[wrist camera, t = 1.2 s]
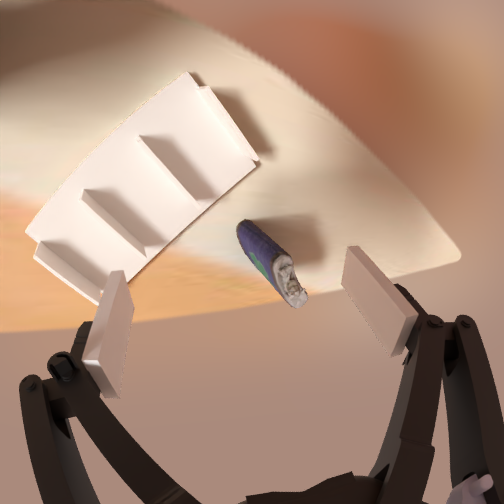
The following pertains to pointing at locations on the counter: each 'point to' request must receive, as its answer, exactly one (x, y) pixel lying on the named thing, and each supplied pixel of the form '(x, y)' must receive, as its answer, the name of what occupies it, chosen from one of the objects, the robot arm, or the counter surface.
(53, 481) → the robot arm
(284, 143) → the counter surface
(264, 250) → the flask
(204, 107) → the rack
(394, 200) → the counter surface
